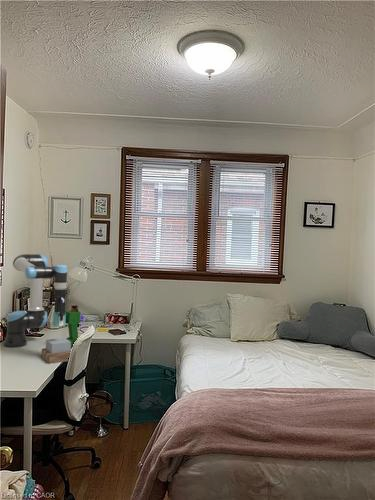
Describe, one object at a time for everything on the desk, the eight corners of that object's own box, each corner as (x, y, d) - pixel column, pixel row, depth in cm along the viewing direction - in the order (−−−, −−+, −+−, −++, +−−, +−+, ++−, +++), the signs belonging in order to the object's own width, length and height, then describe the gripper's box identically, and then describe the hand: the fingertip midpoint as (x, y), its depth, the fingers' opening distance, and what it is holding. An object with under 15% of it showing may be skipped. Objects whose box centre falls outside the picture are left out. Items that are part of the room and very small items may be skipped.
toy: (63, 346, 278) (64, 304, 277) (83, 345, 283) (85, 304, 282) (64, 350, 268) (65, 307, 267) (85, 349, 273) (86, 306, 272)
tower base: (41, 357, 251) (41, 348, 251) (65, 354, 261) (66, 345, 261) (49, 364, 238) (49, 355, 238) (74, 360, 248) (74, 351, 248)
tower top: (45, 349, 251) (46, 339, 251) (64, 346, 258) (64, 337, 258) (51, 353, 241) (52, 344, 241) (70, 351, 248) (70, 341, 248)
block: (52, 324, 249) (53, 312, 249) (62, 323, 253) (62, 311, 253) (55, 326, 244) (56, 313, 244) (65, 325, 248) (65, 313, 248)
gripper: (49, 287, 254) (48, 322, 254) (59, 290, 238) (58, 328, 239) (61, 286, 258) (59, 321, 259) (71, 290, 243) (70, 327, 243)
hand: (59, 324), depth 249 cm, fingers closed on block, 6 cm apart
